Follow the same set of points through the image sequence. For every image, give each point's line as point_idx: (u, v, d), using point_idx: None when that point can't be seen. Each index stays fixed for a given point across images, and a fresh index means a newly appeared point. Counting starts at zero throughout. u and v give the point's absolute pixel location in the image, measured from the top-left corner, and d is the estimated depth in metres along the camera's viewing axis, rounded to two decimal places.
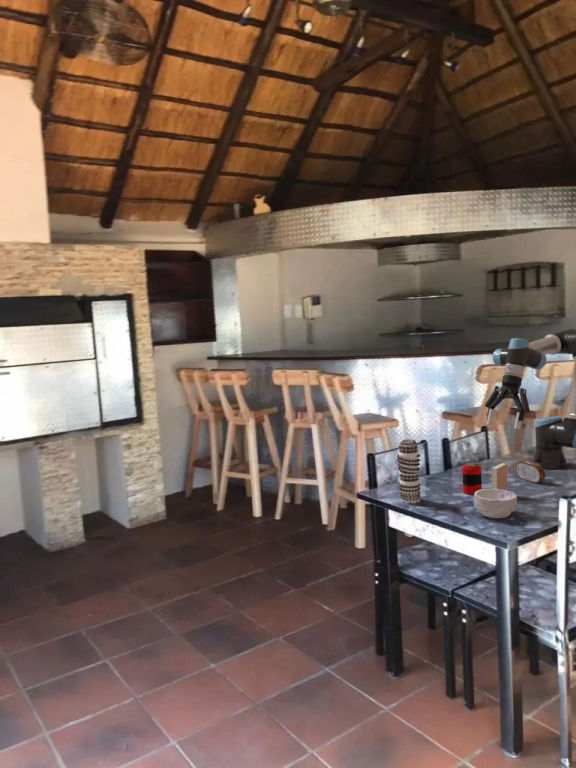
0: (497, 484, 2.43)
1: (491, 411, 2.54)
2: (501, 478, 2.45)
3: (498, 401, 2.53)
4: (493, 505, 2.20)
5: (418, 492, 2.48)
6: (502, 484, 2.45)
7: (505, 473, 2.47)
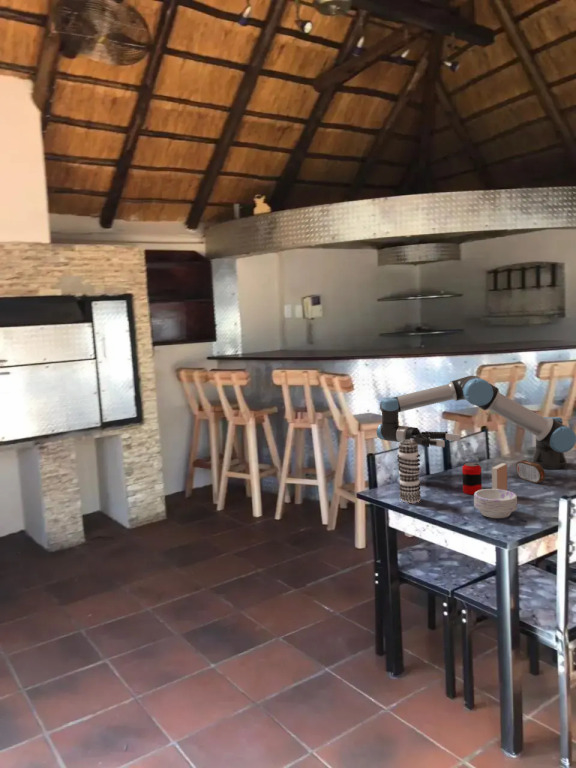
0: (497, 484, 2.43)
1: (447, 438, 2.67)
2: (501, 478, 2.45)
3: (436, 436, 2.69)
4: (493, 505, 2.20)
5: (418, 492, 2.48)
6: (502, 484, 2.45)
7: (505, 473, 2.47)
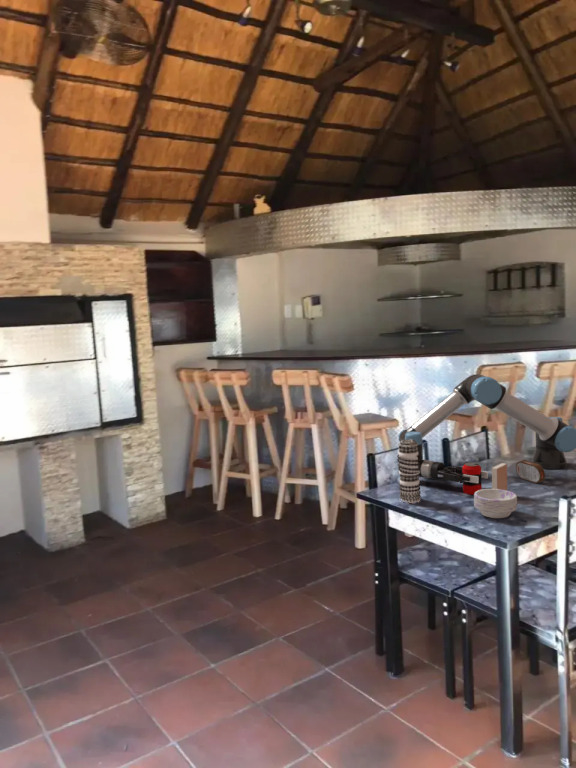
0: (497, 484, 2.43)
1: None
2: (501, 478, 2.45)
3: (461, 472, 2.61)
4: (493, 505, 2.20)
5: (418, 492, 2.48)
6: (502, 484, 2.45)
7: (505, 473, 2.47)
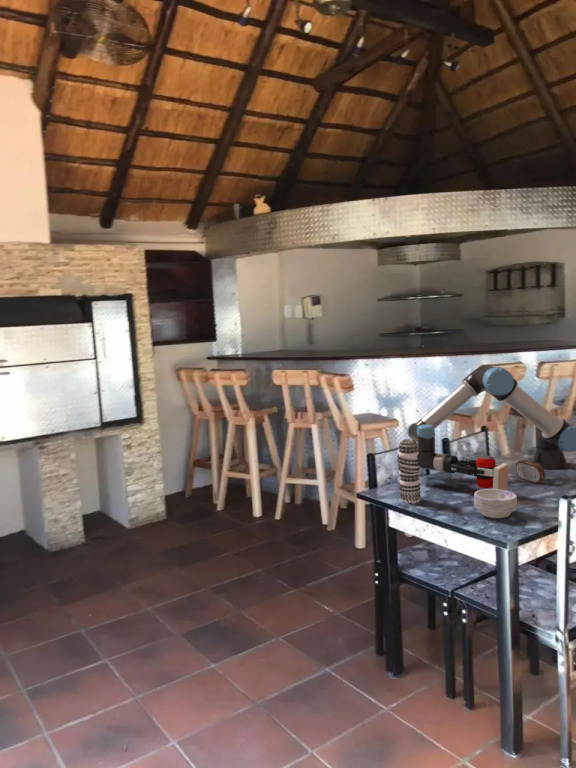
0: (498, 484, 2.42)
1: None
2: (502, 478, 2.44)
3: (475, 466, 2.56)
4: (493, 505, 2.20)
5: (418, 492, 2.48)
6: (503, 484, 2.45)
7: (506, 473, 2.47)
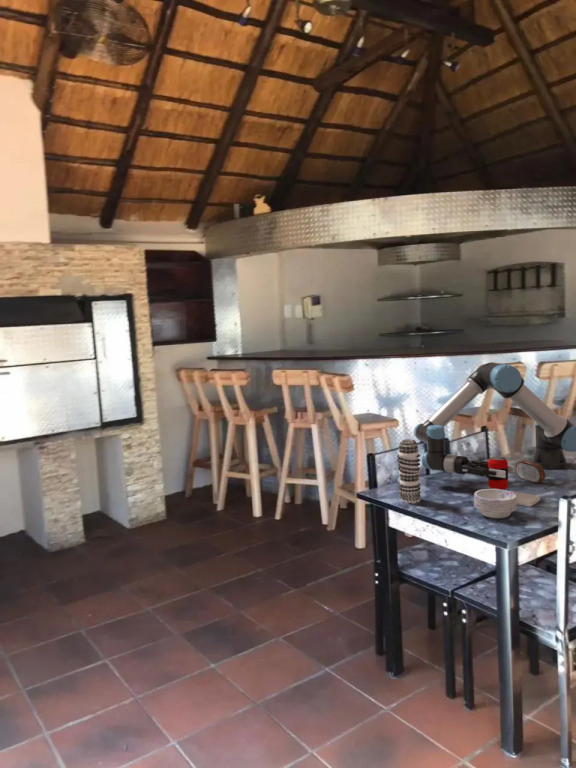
0: None
1: None
2: None
3: (486, 467, 2.52)
4: (493, 505, 2.20)
5: (418, 492, 2.48)
6: None
7: None
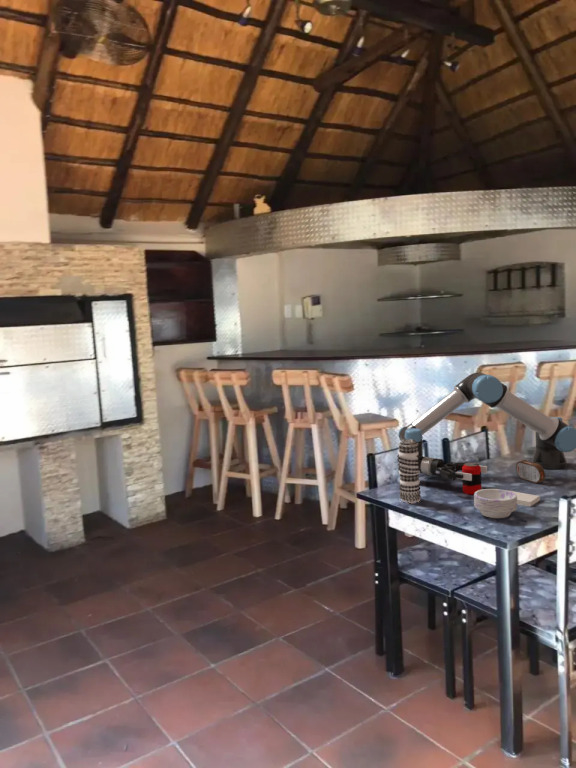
0: None
1: None
2: None
3: None
4: (493, 505, 2.20)
5: (418, 492, 2.48)
6: None
7: None
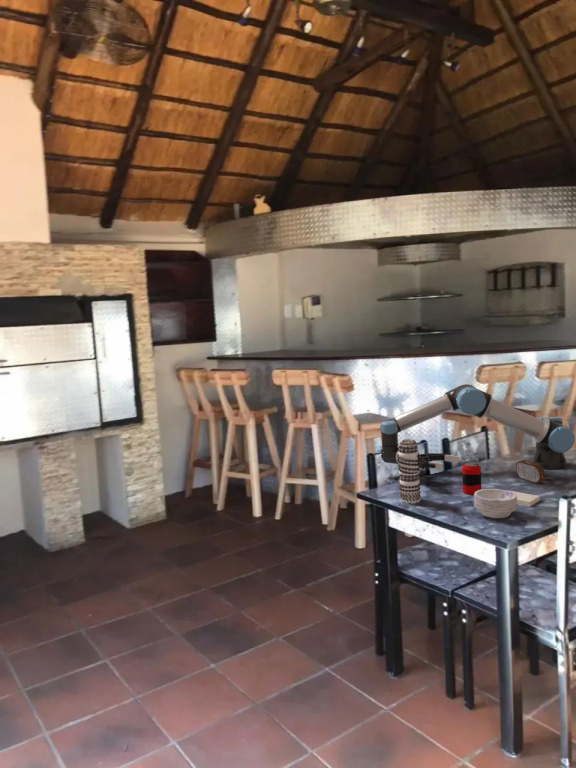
0: None
1: (446, 460, 2.71)
2: None
3: (435, 458, 2.72)
4: (493, 505, 2.20)
5: (418, 492, 2.48)
6: None
7: None
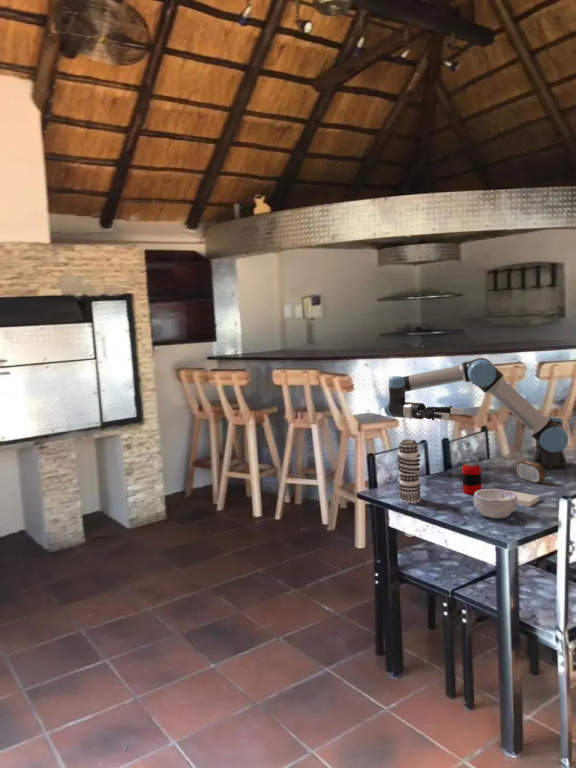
0: None
1: (452, 412, 2.79)
2: None
3: (441, 411, 2.81)
4: (493, 505, 2.20)
5: (418, 492, 2.48)
6: None
7: None
